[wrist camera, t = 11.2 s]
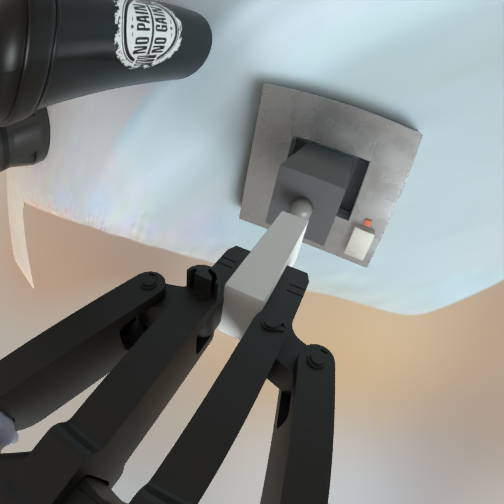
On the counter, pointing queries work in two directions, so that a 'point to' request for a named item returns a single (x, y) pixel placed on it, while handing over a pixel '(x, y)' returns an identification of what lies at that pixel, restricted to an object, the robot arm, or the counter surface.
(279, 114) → the socket
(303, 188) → the plug
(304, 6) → the counter surface
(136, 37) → the water bottle
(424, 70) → the counter surface
